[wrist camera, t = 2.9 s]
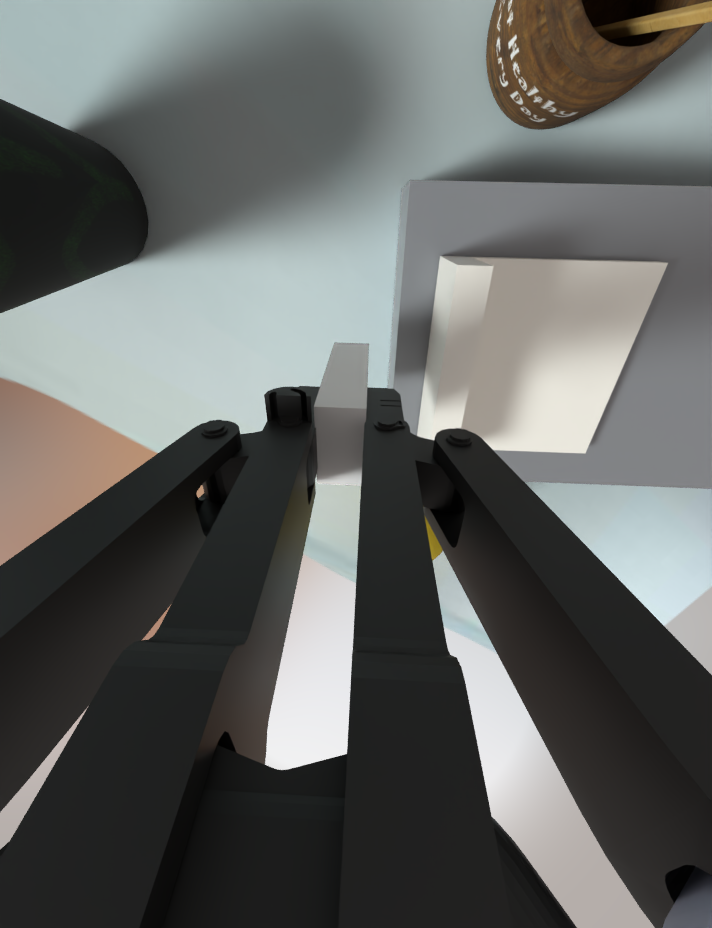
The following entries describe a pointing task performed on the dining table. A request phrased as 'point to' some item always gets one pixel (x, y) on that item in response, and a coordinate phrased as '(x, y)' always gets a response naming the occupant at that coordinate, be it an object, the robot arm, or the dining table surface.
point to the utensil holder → (580, 52)
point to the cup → (61, 209)
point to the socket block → (588, 238)
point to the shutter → (531, 347)
